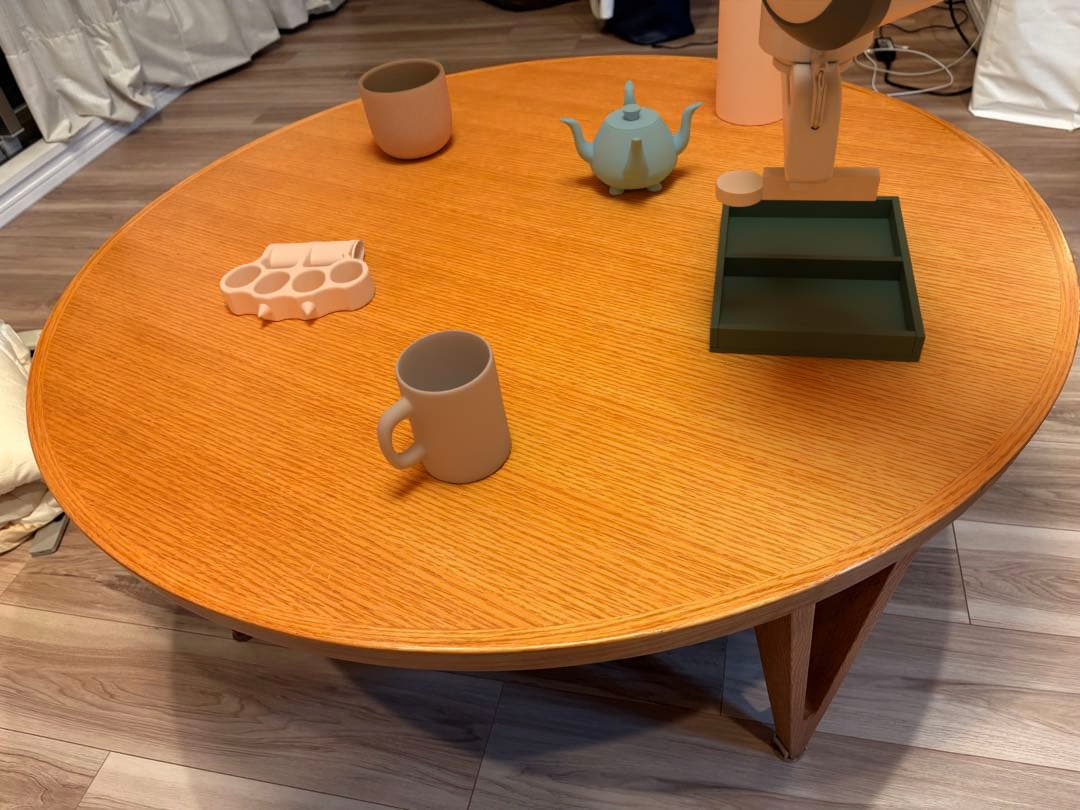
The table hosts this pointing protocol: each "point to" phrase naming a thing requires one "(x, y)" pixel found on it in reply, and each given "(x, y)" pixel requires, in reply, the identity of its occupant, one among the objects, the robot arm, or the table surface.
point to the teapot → (633, 146)
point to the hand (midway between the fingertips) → (797, 178)
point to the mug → (448, 408)
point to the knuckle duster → (300, 281)
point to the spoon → (752, 188)
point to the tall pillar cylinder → (745, 68)
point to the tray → (816, 281)
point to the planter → (407, 107)
